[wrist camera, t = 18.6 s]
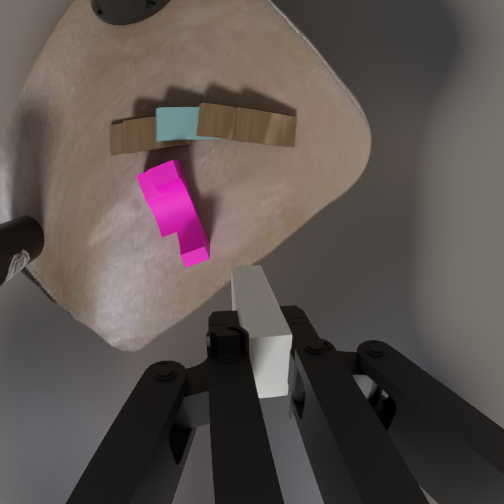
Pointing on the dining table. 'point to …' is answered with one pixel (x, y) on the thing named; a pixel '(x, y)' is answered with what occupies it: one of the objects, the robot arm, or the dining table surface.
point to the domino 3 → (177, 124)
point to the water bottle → (19, 245)
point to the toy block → (175, 210)
